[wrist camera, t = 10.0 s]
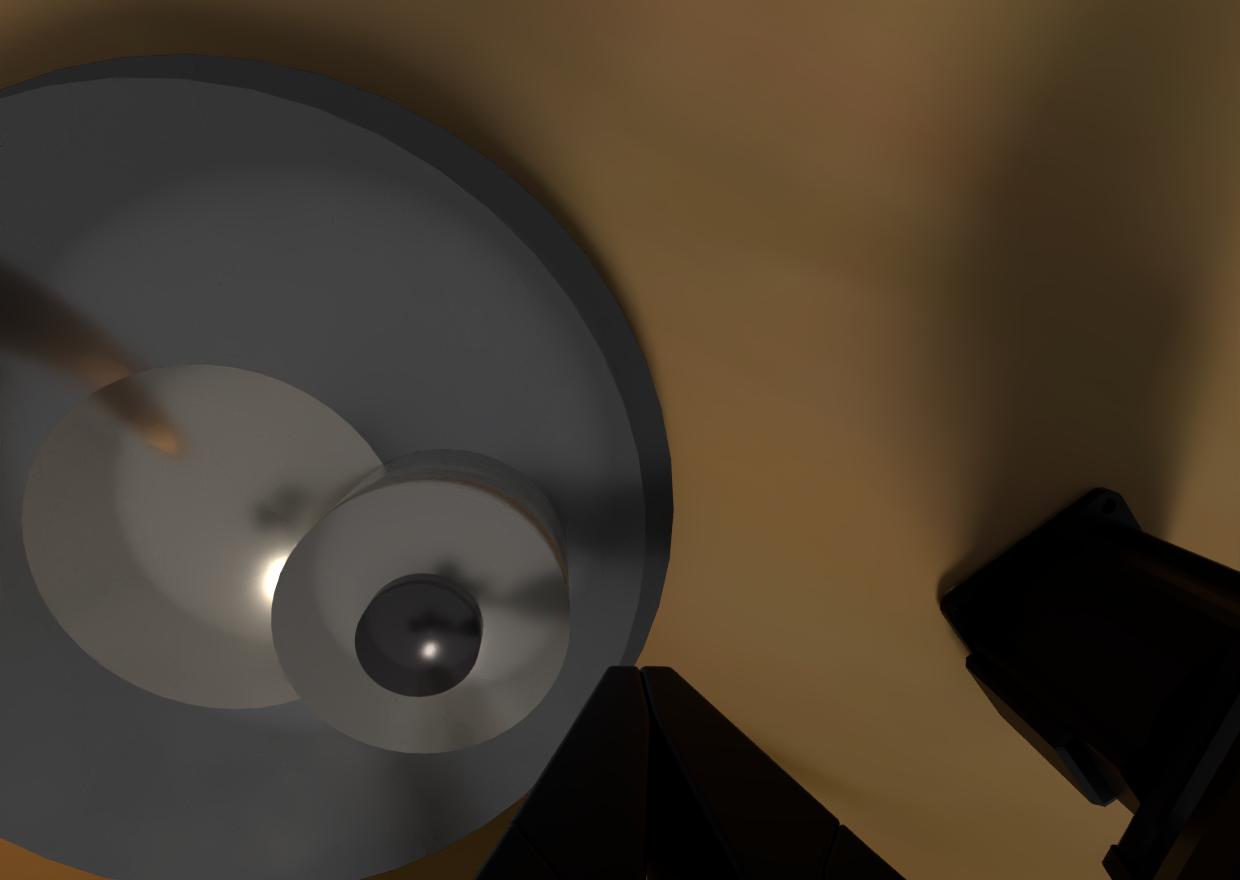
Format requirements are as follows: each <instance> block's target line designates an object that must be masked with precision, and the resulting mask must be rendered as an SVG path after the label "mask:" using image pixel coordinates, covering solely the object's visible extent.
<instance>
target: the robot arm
mask: <svg viewBox="0 0 1240 880" xmlns="http://www.w3.org/2000/svg"><path fill="white" fill-rule="evenodd" d="M1105 500H1106V502H1105V505H1104V506H1103V508H1101V505H1102V503H1103V502H1104V501H1105ZM962 603H963V604H962ZM960 604H962V607H961V608H960V610H959V611H956V612H955V608H956V607H957V606H958V605H960ZM940 610H941V612H942V614H943V616H944V617H945V619H946V620H947V622H948V623H949V624H950V626H951V627H952V629H953V630H954V631H955V633H956V634H957V636H958V637H959V638H960V640H961V641H962V643H963V644H964V645H965V647H966V648H967V650H968V651H969V653H970V654H971V655H969V656H968V657H966V668H967V669H968V671H969V672H970V674H971V675H972V676H973V678H974V679H975V681H976V682H977V683H978V685H979V686H980V688H981V689H982V690H983V692H984V693H985V695H986V696H987V697H988V699H989V700H990V701H991V703H992V704H993V706H994V707H995V708H996V710H997V711H998V713H999V714H1000V715H1001V716H1002V717H1003V718H1004V719H1005V720H1006V721H1007V722H1008V723H1009V724H1010V725H1011V726H1012V727H1013V728H1014V729H1015V730H1016V731H1017V732H1018V733H1019V734H1020V735H1021V736H1022V737H1023V738H1025V739H1026V740H1027V741H1028V742H1029V743H1030V744H1031V745H1032V746H1033V747H1034V748H1035V749H1036V750H1037V751H1038V752H1039V753H1040V754H1041V755H1042V756H1043V757H1044V758H1045V759H1046V760H1047V761H1048V762H1049V763H1050V764H1051V765H1052V766H1053V767H1054V768H1055V769H1056V770H1057V771H1059V772H1060V773H1061V774H1062V775H1063V776H1064V777H1065V778H1066V779H1067V780H1068V781H1069V782H1070V783H1071V784H1072V785H1073V786H1074V787H1075V788H1076V789H1077V790H1078V791H1079V792H1080V793H1081V794H1082V795H1083V796H1084V797H1085V798H1086V799H1087V800H1088V801H1089V802H1090V803H1092V804H1095V805H1100V806H1104V807H1106V806H1107V805H1109V804H1110V803H1112V802H1113V801H1115V800H1116V799H1118V800H1119V801H1120V802H1121V803H1122V804H1123V805H1124V806H1125V807H1126V808H1127V809H1128V810H1130V811H1131V812H1132V813H1133V814H1134V816H1133V818H1132V820H1131V822H1130V824H1129V825H1128V827H1127V829H1126V831H1125V832H1124V834H1123V836H1122V838H1121V839H1120V841H1119V843H1118V845H1111V847H1110V849H1109V851H1108V852H1107V854H1106V856H1105V858H1104V860H1103V861H1102V864H1103V866H1104V868H1105V870H1106V871H1107V873H1108V874H1109V876H1110V877H1111V879H1112V880H1240V571H1237V570H1235V569H1232V568H1230V567H1227V566H1225V565H1223V564H1220V563H1218V562H1215V561H1213V560H1210V559H1208V558H1206V557H1203V556H1201V555H1198V554H1196V553H1193V552H1191V551H1189V550H1186V549H1184V548H1181V547H1179V546H1176V545H1174V544H1172V543H1169V542H1167V541H1164V540H1162V539H1159V538H1157V537H1154V536H1152V535H1150V534H1147V533H1145V532H1142V530H1141V528H1140V526H1139V525H1138V523H1137V521H1136V520H1135V518H1134V516H1133V514H1132V513H1131V511H1130V509H1129V508H1128V506H1127V504H1126V502H1125V501H1124V499H1123V497H1122V496H1121V495H1120V494H1119V493H1117V492H1115V491H1112V490H1109V489H1106V488H1103V487H1101V488H1096V489H1094V490H1092V491H1090V492H1089V493H1087V494H1086V495H1084V496H1083V497H1082V498H1080V499H1079V500H1077V501H1076V502H1075V503H1073V504H1072V505H1070V506H1069V507H1068V508H1066V509H1065V510H1064V511H1062V512H1061V513H1059V514H1058V515H1057V516H1055V517H1054V518H1052V519H1051V520H1050V521H1048V522H1047V523H1045V524H1044V525H1043V526H1041V527H1040V528H1038V529H1037V530H1036V531H1034V532H1033V533H1031V534H1030V535H1029V536H1027V537H1026V538H1024V539H1023V540H1022V541H1020V542H1019V543H1017V544H1016V545H1015V546H1013V547H1012V548H1011V549H1009V550H1008V551H1006V552H1005V553H1004V554H1002V555H1001V556H999V557H998V558H997V559H995V560H994V561H992V562H991V563H990V564H988V565H987V566H985V567H984V568H983V569H981V570H980V571H978V572H977V573H976V574H974V575H973V576H971V577H970V578H969V579H967V580H966V581H965V582H963V583H962V584H960V585H959V586H958V587H956V588H955V589H953V590H952V591H951V592H949V593H948V594H947V595H946V596H945V597H944V598H943V599H942V601H941V603H940ZM646 876H647V880H906V879H905V878H904V877H903V876H902V875H900V874H899V873H898V872H897V871H896V870H895V869H893V868H892V867H891V866H890V865H889V864H888V863H887V862H885V861H884V860H883V859H882V858H881V857H880V856H879V855H877V854H876V853H875V852H874V851H873V850H872V849H870V848H869V847H868V846H867V845H866V844H865V843H864V842H863V841H862V840H861V839H859V838H858V837H857V836H856V835H855V834H854V833H853V832H852V831H851V830H850V829H848V828H847V827H846V826H845V825H840V823H839V820H838V819H837V818H836V817H835V816H834V815H833V814H832V813H831V812H829V811H828V810H827V809H826V808H825V807H824V806H823V805H822V804H821V803H820V802H818V801H817V800H816V799H815V798H814V797H813V796H812V795H811V794H810V793H809V792H807V791H806V790H805V789H804V788H803V787H802V786H801V785H800V784H799V783H798V782H796V781H795V780H794V779H793V778H792V777H791V776H790V775H789V774H788V773H787V772H786V771H784V770H783V769H782V768H781V767H780V766H779V765H778V764H777V763H776V762H775V761H773V760H772V759H771V758H770V757H769V756H768V755H767V754H766V753H765V752H764V751H762V750H761V749H760V748H759V747H758V746H757V745H756V744H755V743H754V742H753V741H751V740H750V739H749V738H748V737H747V736H746V735H745V734H744V733H743V732H742V731H740V730H739V729H738V728H737V727H736V726H735V725H734V724H733V723H732V722H731V721H730V720H728V719H727V718H726V717H725V716H724V715H723V714H722V713H721V712H720V711H719V710H717V709H716V708H715V707H714V706H713V705H712V704H711V703H710V702H709V701H708V700H706V699H705V698H704V697H703V696H702V695H701V694H700V693H699V692H698V691H697V690H695V689H694V688H693V687H692V686H691V685H690V684H689V683H688V682H687V681H686V680H684V679H683V678H682V677H681V676H680V675H679V674H678V673H677V672H676V671H675V670H674V669H672V668H671V667H667V666H645V667H642V668H641V669H640V670H639V669H638V668H637V667H636V666H610V667H608V668H607V669H606V671H605V672H604V674H603V676H602V677H601V679H600V680H599V682H598V684H597V685H596V687H595V688H594V690H593V692H592V693H591V695H590V696H589V698H588V700H587V701H586V703H585V704H584V706H583V708H582V709H581V711H580V712H579V714H578V716H577V717H576V719H575V720H574V722H573V724H572V725H571V727H570V728H569V730H568V732H567V733H566V735H565V736H564V738H563V739H562V741H561V743H560V744H559V746H558V747H557V749H556V751H555V752H554V754H553V755H552V757H551V759H550V760H549V762H548V763H547V765H546V767H545V768H544V770H543V771H542V773H541V775H540V776H539V778H538V779H537V781H536V783H535V784H534V786H533V787H532V789H531V791H530V792H529V794H528V795H527V797H526V799H525V800H524V802H523V803H522V805H521V807H520V808H519V810H518V811H517V813H516V815H515V816H514V818H513V819H512V821H511V824H510V826H508V827H507V828H506V830H505V832H504V833H503V835H502V836H501V838H500V840H499V841H498V843H497V844H496V846H495V848H494V849H493V851H492V852H491V854H490V855H489V857H488V858H487V860H486V861H485V863H484V864H483V866H482V867H481V868H480V870H479V871H478V873H477V874H476V876H475V877H474V879H473V880H646Z"/></svg>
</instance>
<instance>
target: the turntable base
mask: <svg viewBox="0 0 1240 880" xmlns="http://www.w3.org/2000/svg"><path fill="white" fill-rule="evenodd" d="M107 78H160V79H187V80H193V81H200V82H207V83H213V84H220V85H226V86H233V87H239V88H246V89H252V90H256V91H259V92H262V93H266V94H269V95H273V96H276V97H280V98H283V99H287V100H290V101H294V102H297V103H301V104H304V105H308V106H311V107H315V108H318V109H320V110H323V111H325V112H327V113H330V114H332V115H334V116H337V117H339V118H341V119H343V120H346V121H348V122H350V123H353V124H355V125H357V126H360V127H362V128H364V129H367V130H369V131H371V132H374V133H376V134H378V135H381V136H382V137H384V138H386V139H387V140H389V141H391V142H392V143H394V144H396V145H398V146H399V147H401V148H403V149H404V150H406V151H408V152H409V153H411V154H413V155H415V156H416V157H418V158H420V159H421V160H423V161H425V162H426V163H428V164H430V165H432V166H433V167H435V168H437V169H438V170H440V171H441V172H442V173H443V174H445V175H446V176H447V177H449V178H450V179H451V180H453V181H454V182H455V183H456V184H458V185H459V186H460V187H462V188H463V189H464V190H466V191H467V192H468V193H469V194H471V195H472V196H473V197H475V198H476V199H477V200H479V201H480V202H481V203H482V204H484V205H485V206H486V207H488V208H489V209H490V210H491V211H492V212H493V213H494V214H495V215H496V216H497V217H498V218H499V219H500V220H501V221H502V222H503V223H504V224H505V225H506V226H507V227H508V228H509V229H510V230H511V231H512V232H513V233H514V234H515V235H516V236H517V237H518V238H519V239H520V240H521V241H522V242H523V243H524V244H525V245H526V246H527V247H528V248H529V249H530V250H532V251H533V252H534V253H535V255H536V256H537V257H538V259H539V260H540V261H541V262H542V264H543V265H544V266H545V267H546V269H547V270H548V271H549V273H550V274H551V275H552V276H553V278H554V279H555V280H556V282H557V283H558V284H559V285H560V287H561V288H562V289H563V291H564V292H565V293H566V294H567V296H568V297H569V298H570V299H571V301H572V302H573V304H574V306H575V307H576V309H577V311H578V312H579V314H580V316H581V317H582V319H583V321H584V322H585V324H586V326H587V328H588V329H589V331H590V333H591V334H592V336H593V338H594V339H595V341H596V343H597V344H598V346H599V348H600V349H601V351H602V353H603V356H604V358H605V360H606V363H607V365H608V367H609V370H610V372H611V374H612V377H613V379H614V381H615V384H616V386H617V388H618V391H619V393H620V395H621V398H622V400H623V402H624V406H625V409H626V413H627V416H628V420H629V423H630V427H631V431H632V434H633V438H634V441H635V445H636V448H637V452H638V457H639V464H640V471H641V478H642V486H643V493H644V500H645V561H644V568H643V575H642V583H641V590H640V597H639V604H638V607H637V611H636V614H635V618H634V621H633V625H632V629H631V632H630V636H629V639H628V643H627V646H626V650H625V652H624V654H623V656H622V659H621V661H620V663H619V665H618V666H634V665H635V663H636V661H637V659H638V657H639V655H640V654H641V652H642V650H643V647H644V645H645V642H646V639H647V637H648V634H649V631H650V629H651V626H652V623H653V620H654V618H655V615H656V612H657V610H658V607H659V604H660V599H661V595H662V590H663V586H664V581H665V577H666V572H667V568H668V563H669V559H670V547H671V535H672V523H673V511H674V508H673V489H672V470H671V457H670V452H669V447H668V441H667V436H666V431H665V426H664V420H663V415H662V410H661V406H660V403H659V400H658V397H657V394H656V391H655V388H654V385H653V382H652V379H651V376H650V373H649V370H648V367H647V364H646V361H645V358H644V355H643V353H642V351H641V349H640V347H639V345H638V343H637V341H636V339H635V337H634V335H633V333H632V331H631V329H630V326H629V324H628V322H627V320H626V318H625V316H624V314H623V312H622V310H621V308H620V306H619V304H618V303H617V301H616V300H615V298H614V297H613V295H612V294H611V292H610V291H609V289H608V288H607V286H606V284H605V283H604V281H603V280H602V278H601V277H600V275H599V274H598V272H597V271H596V269H595V268H594V266H593V265H592V263H591V262H590V260H589V259H588V257H587V256H586V255H585V253H584V252H583V251H582V250H581V249H580V248H579V246H578V245H577V244H576V243H575V242H574V241H573V239H572V238H571V237H570V236H569V235H568V234H567V232H566V231H565V230H564V229H563V228H562V227H561V225H560V224H559V223H558V222H557V221H556V220H555V218H554V217H553V216H552V215H551V214H550V213H549V211H548V210H547V209H546V208H545V207H543V206H542V205H541V204H540V203H539V202H538V201H537V200H536V199H535V198H533V197H532V196H531V195H530V194H529V193H528V192H527V191H526V190H525V189H524V188H522V187H521V186H520V185H519V184H518V183H517V182H516V181H515V180H514V179H512V178H511V177H510V176H509V175H508V174H507V173H506V172H505V171H504V170H502V169H501V168H500V167H499V166H497V165H496V164H495V163H493V162H492V161H490V160H489V159H487V158H486V157H485V156H483V155H482V154H480V153H479V152H477V151H476V150H475V149H473V148H472V147H470V146H469V145H467V144H466V143H464V142H463V141H462V140H460V139H459V138H457V137H456V136H454V135H453V134H452V133H450V132H449V131H447V130H446V129H444V128H442V127H440V126H438V125H436V124H434V123H432V122H430V121H428V120H426V119H425V118H423V117H421V116H419V115H417V114H415V113H413V112H411V111H409V110H407V109H406V108H404V107H402V106H400V105H398V104H396V103H394V102H392V101H390V100H388V99H386V98H383V97H381V96H378V95H375V94H372V93H370V92H367V91H364V90H362V89H359V88H356V87H354V86H351V85H348V84H345V83H343V82H340V81H337V80H335V79H332V78H329V77H327V76H324V75H319V74H315V73H311V72H306V71H302V70H298V69H293V68H289V67H284V66H280V65H276V64H271V63H267V62H263V61H258V60H248V59H237V58H226V57H216V56H205V55H194V54H182V55H160V56H138V57H121V58H116V59H110V60H105V61H100V62H95V63H89V64H84V65H79V66H74V67H69V68H63V69H58V70H55V71H52V72H49V73H46V74H43V75H40V76H38V77H35V78H32V79H29V80H26V81H23V82H21V83H18V84H15V85H12V86H9V87H6V88H4V89H1V90H0V99H1V98H4V97H8V96H12V95H15V94H19V93H23V92H26V91H30V90H33V89H37V88H41V87H44V86H51V85H59V84H67V83H75V82H83V81H91V80H99V79H107Z"/></svg>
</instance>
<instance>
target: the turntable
mask: <svg viewBox="0 0 1240 880" xmlns="http://www.w3.org/2000/svg"><path fill="white" fill-rule="evenodd" d="M434 449H455V450H466V451H471V452H475V453H480V454H483V455H486V456H489V457H492V458H495V459H497V460H499V461H501V462H503V463H505V464H507V465H509V466H511V467H513V468H514V469H516V470H517V471H519V472H520V473H522V474H523V475H525V476H526V477H527V478H528V479H529V480H530V481H532V482H533V483H534V484H535V485H536V486H537V487H538V488H539V489H540V490H541V492H542V493H543V494H544V495H545V496H546V497H547V499H548V500H549V502H550V503H551V505H552V506H553V508H554V510H555V512H556V514H557V516H558V518H559V520H560V522H561V525H562V528H563V531H564V534H565V537H566V543H567V549H568V571H569V601H570V635H569V644H568V648H567V652H566V656H565V659H564V662H563V665H562V667H561V670H560V672H559V674H558V677H557V678H556V680H555V682H554V683H553V685H552V687H551V688H550V690H549V692H548V693H547V694H546V695H545V697H544V698H543V699H542V701H541V702H540V703H539V704H538V705H537V706H536V707H535V708H534V709H533V710H532V711H531V712H530V713H529V714H528V715H527V716H526V717H525V718H524V719H522V720H521V721H520V722H518V723H517V724H516V725H514V726H513V727H512V728H510V729H508V730H507V731H505V732H503V733H501V734H500V735H498V736H496V737H494V738H492V739H489V740H487V741H485V742H482V743H480V744H477V745H474V746H470V747H467V748H464V749H459V750H454V751H448V752H441V753H427V754H424V753H405V752H398V751H392V750H387V749H383V748H379V747H375V746H372V745H369V744H366V743H364V742H361V741H359V740H356V739H354V738H352V737H350V736H348V735H346V734H344V733H342V732H340V731H338V730H337V729H335V728H334V727H332V726H331V725H329V724H328V723H327V722H325V721H324V720H322V719H321V718H320V717H319V716H318V715H317V714H316V713H314V712H313V711H312V710H311V709H310V708H309V707H308V706H307V705H306V704H305V703H304V701H303V700H302V699H301V698H300V697H299V696H298V694H297V693H296V692H295V690H294V689H293V687H292V686H291V684H290V683H289V681H288V679H287V678H286V676H285V674H284V672H283V669H282V667H281V665H280V663H279V660H278V657H277V654H276V650H275V647H274V643H273V636H272V630H271V607H272V601H273V594H274V590H275V587H276V583H277V580H278V577H279V574H280V572H281V570H282V568H283V566H284V564H285V562H286V560H287V558H288V556H289V555H290V553H291V552H292V551H293V549H294V548H295V546H296V545H297V543H298V542H299V541H300V540H301V539H302V538H303V537H304V536H305V534H306V533H307V532H308V531H309V530H310V529H311V528H312V527H313V526H314V525H315V524H316V523H317V522H318V521H320V520H321V519H322V518H323V517H324V516H325V515H326V514H327V513H328V512H329V511H330V510H331V509H332V508H333V507H334V506H335V505H336V504H338V503H339V502H340V501H341V500H342V499H343V498H344V497H345V496H346V495H347V494H348V493H349V492H350V491H351V490H352V489H353V488H354V487H356V486H357V485H358V484H359V483H360V482H361V481H362V480H363V479H364V478H366V477H367V476H368V475H369V474H371V473H372V472H373V471H375V470H376V469H378V468H380V467H381V466H383V465H385V464H386V463H388V462H391V461H393V460H395V459H397V458H400V457H402V456H405V455H409V454H412V453H416V452H421V451H427V450H434ZM644 561H645V500H644V493H643V486H642V478H641V471H640V464H639V457H638V452H637V448H636V445H635V441H634V438H633V434H632V431H631V427H630V423H629V420H628V416H627V413H626V409H625V406H624V402H623V400H622V398H621V395H620V393H619V391H618V388H617V386H616V384H615V381H614V379H613V377H612V374H611V372H610V370H609V367H608V365H607V363H606V360H605V358H604V356H603V353H602V351H601V349H600V348H599V346H598V344H597V343H596V341H595V339H594V338H593V336H592V334H591V333H590V331H589V329H588V328H587V326H586V324H585V322H584V321H583V319H582V317H581V316H580V314H579V312H578V311H577V309H576V307H575V306H574V304H573V302H572V301H571V299H570V298H569V297H568V296H567V294H566V293H565V292H564V291H563V289H562V288H561V287H560V285H559V284H558V283H557V282H556V280H555V279H554V278H553V276H552V275H551V274H550V273H549V271H548V270H547V269H546V267H545V266H544V265H543V264H542V262H541V261H540V260H539V259H538V257H537V256H536V255H535V253H534V252H533V251H532V250H530V249H529V248H528V247H527V246H526V245H525V244H524V243H523V242H522V241H521V240H520V239H519V238H518V237H517V236H516V235H515V234H514V233H513V232H512V231H511V230H510V229H509V228H508V227H507V226H506V225H505V224H504V223H503V222H502V221H501V220H500V219H499V218H498V217H497V216H496V215H495V214H494V213H493V212H492V211H491V210H490V209H489V208H488V207H486V206H485V205H484V204H482V203H481V202H480V201H479V200H477V199H476V198H475V197H473V196H472V195H471V194H469V193H468V192H467V191H466V190H464V189H463V188H462V187H460V186H459V185H458V184H456V183H455V182H454V181H453V180H451V179H450V178H449V177H447V176H446V175H445V174H443V173H442V172H441V171H440V170H438V169H437V168H435V167H433V166H432V165H430V164H428V163H426V162H425V161H423V160H421V159H420V158H418V157H416V156H415V155H413V154H411V153H409V152H408V151H406V150H404V149H403V148H401V147H399V146H398V145H396V144H394V143H392V142H391V141H389V140H387V139H386V138H384V137H382V136H381V135H378V134H376V133H374V132H371V131H369V130H367V129H364V128H362V127H360V126H357V125H355V124H353V123H350V122H348V121H346V120H343V119H341V118H339V117H337V116H334V115H332V114H330V113H327V112H325V111H323V110H320V109H318V108H315V107H311V106H308V105H304V104H301V103H297V102H294V101H290V100H287V99H283V98H280V97H276V96H273V95H269V94H266V93H262V92H259V91H256V90H252V89H246V88H239V87H233V86H226V85H220V84H213V83H207V82H200V81H193V80H187V79H160V78H107V79H99V80H91V81H83V82H75V83H67V84H59V85H51V86H44V87H41V88H37V89H33V90H30V91H26V92H23V93H19V94H15V95H12V96H8V97H4V98H1V99H0V838H2V839H5V840H7V841H9V842H11V843H13V844H16V845H18V846H20V847H22V848H25V849H27V850H29V851H31V852H33V853H36V854H38V855H40V856H42V857H44V858H47V859H50V860H53V861H56V862H59V863H62V864H65V865H68V866H71V867H74V868H77V869H80V870H83V871H86V872H89V873H92V874H95V875H98V876H102V877H106V878H111V879H115V880H360V879H364V878H367V877H370V876H374V875H377V874H380V873H384V872H387V871H391V870H394V869H397V868H400V867H402V866H405V865H407V864H409V863H412V862H414V861H416V860H419V859H421V858H423V857H426V856H428V855H430V854H433V853H435V852H438V851H440V850H442V849H444V848H446V847H447V846H449V845H451V844H453V843H455V842H456V841H458V840H460V839H462V838H463V837H465V836H467V835H469V834H470V833H472V832H474V831H476V830H477V829H479V828H481V827H483V826H484V825H485V824H487V823H488V822H490V821H491V820H492V819H494V818H495V817H496V816H498V815H499V814H500V813H502V812H503V811H504V810H506V809H507V808H508V807H510V806H511V805H513V804H514V803H515V802H517V801H518V800H519V799H521V798H522V797H523V796H524V795H525V794H526V793H527V792H528V791H529V790H530V789H531V788H532V787H533V786H534V784H535V783H536V781H537V779H538V778H539V776H540V775H541V773H542V771H543V770H544V768H545V767H546V765H547V763H548V762H549V760H550V759H551V757H552V755H553V754H554V752H555V751H556V749H557V747H558V746H559V744H560V743H561V741H562V739H563V738H564V736H565V735H566V733H567V732H568V730H569V728H570V727H571V725H572V724H573V722H574V720H575V719H576V717H577V716H578V714H579V712H580V711H581V709H582V708H583V706H584V704H585V703H586V701H587V700H588V698H589V696H590V695H591V693H592V692H593V690H594V688H595V687H596V685H597V684H598V682H599V680H600V679H601V677H602V676H603V674H604V672H605V671H606V669H607V668H608V667H610V666H618V665H619V663H620V661H621V659H622V656H623V654H624V652H625V650H626V646H627V643H628V639H629V636H630V632H631V629H632V625H633V621H634V618H635V614H636V611H637V607H638V604H639V597H640V590H641V583H642V575H643V568H644Z"/></svg>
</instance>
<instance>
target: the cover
mask: <svg viewBox="0 0 1240 880" xmlns="http://www.w3.org/2000/svg"><path fill="white" fill-rule="evenodd" d="M271 630H272V636H273V643H274V647H275V650H276V654H277V657H278V660H279V663H280V665H281V667H282V669H283V672H284V674H285V676H286V678H287V679H288V681H289V683H290V684H291V686H292V687H293V689H294V690H295V692H296V693H297V694H298V696H299V697H300V698H301V699H302V700H303V701H304V703H305V704H306V705H307V706H308V707H309V708H310V709H311V710H312V711H313V712H314V713H316V714H317V715H318V716H319V717H320V718H321V719H322V720H324V721H325V722H327V723H328V724H329V725H331V726H332V727H334V728H335V729H337V730H338V731H340V732H342V733H344V734H346V735H348V736H350V737H352V738H354V739H356V740H359V741H361V742H364V743H366V744H369V745H372V746H375V747H379V748H383V749H387V750H392V751H398V752H405V753H424V754H427V753H441V752H448V751H454V750H459V749H464V748H467V747H470V746H474V745H477V744H480V743H482V742H485V741H487V740H489V739H492V738H494V737H496V736H498V735H500V734H501V733H503V732H505V731H507V730H508V729H510V728H512V727H513V726H514V725H516V724H517V723H518V722H520V721H521V720H522V719H524V718H525V717H526V716H527V715H528V714H529V713H530V712H531V711H532V710H533V709H534V708H535V707H536V706H537V705H538V704H539V703H540V702H541V701H542V699H543V698H544V697H545V695H546V694H547V693H548V692H549V690H550V688H551V687H552V685H553V683H554V682H555V680H556V678H557V677H558V674H559V672H560V670H561V667H562V665H563V662H564V659H565V656H566V652H567V648H568V644H569V635H570V601H569V571H568V549H567V543H566V537H565V534H564V531H563V528H562V525H561V522H560V520H559V518H558V516H557V514H556V512H555V510H554V508H553V506H552V505H551V503H550V502H549V500H548V499H547V497H546V496H545V495H544V494H543V493H542V492H541V490H540V489H539V488H538V487H537V486H536V485H535V484H534V483H533V482H532V481H530V480H529V479H528V478H527V477H526V476H525V475H523V474H522V473H520V472H519V471H517V470H516V469H514V468H513V467H511V466H509V465H507V464H505V463H503V462H501V461H499V460H497V459H495V458H492V457H489V456H486V455H483V454H480V453H475V452H471V451H466V450H455V449H434V450H427V451H421V452H416V453H412V454H409V455H405V456H402V457H400V458H397V459H395V460H393V461H391V462H388V463H386V464H385V465H383V466H381V467H380V468H378V469H376V470H375V471H373V472H372V473H371V474H369V475H368V476H367V477H366V478H364V479H363V480H362V481H361V482H360V483H359V484H358V485H357V486H356V487H354V488H353V489H352V490H351V491H350V492H349V493H348V494H347V495H346V496H345V497H344V498H343V499H342V500H341V501H340V502H339V503H338V504H336V505H335V506H334V507H333V508H332V509H331V510H330V511H329V512H328V513H327V514H326V515H325V516H324V517H323V518H322V519H321V520H320V521H318V522H317V523H316V524H315V525H314V526H313V527H312V528H311V529H310V530H309V531H308V532H307V533H306V534H305V536H304V537H303V538H302V539H301V540H300V541H299V542H298V543H297V545H296V546H295V548H294V549H293V551H292V552H291V553H290V555H289V556H288V558H287V560H286V562H285V564H284V566H283V568H282V570H281V572H280V574H279V577H278V580H277V583H276V587H275V590H274V594H273V601H272V607H271Z"/></svg>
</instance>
